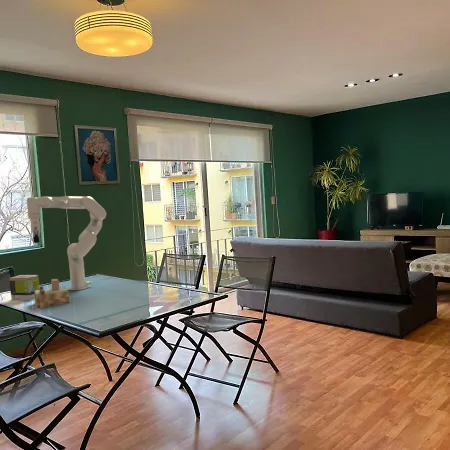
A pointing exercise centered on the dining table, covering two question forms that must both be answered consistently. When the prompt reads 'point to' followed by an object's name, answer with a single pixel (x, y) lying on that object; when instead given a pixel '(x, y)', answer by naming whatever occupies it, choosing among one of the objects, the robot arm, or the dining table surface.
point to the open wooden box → (51, 299)
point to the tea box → (24, 287)
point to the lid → (53, 288)
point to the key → (42, 290)
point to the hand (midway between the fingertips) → (36, 242)
